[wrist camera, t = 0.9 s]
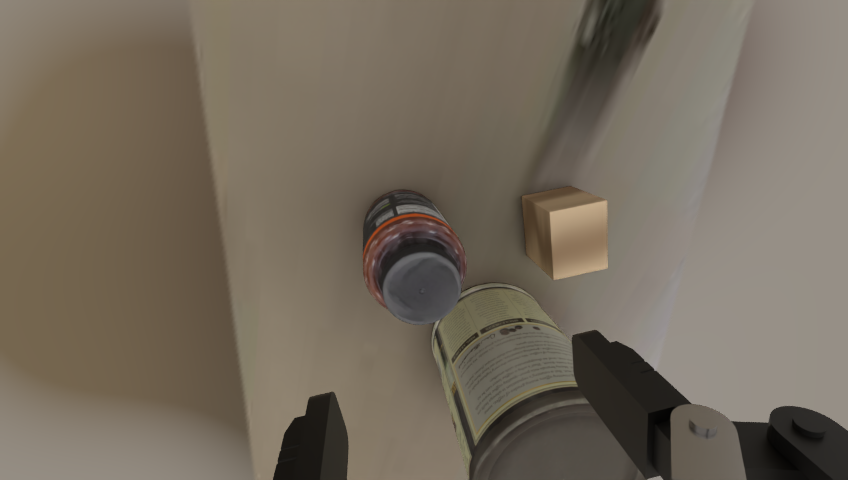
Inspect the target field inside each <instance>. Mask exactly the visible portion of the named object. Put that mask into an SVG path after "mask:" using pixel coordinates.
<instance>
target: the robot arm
mask: <svg viewBox="0 0 848 480" xmlns="http://www.w3.org/2000/svg"><path fill="white" fill-rule="evenodd" d="M572 353H573V372H574V377H575V381H576V383H577V386H578V388H579V389H580V391H581V393H582V394H583V395H584V397H585V398H586V399H587V401H588V402H589V403H590V405H591V406H592V407H593V409H594V410H595V411H596V413H597V414H598V416H599V417H600V418H601V420H602V421H603V422H604V424H605V425H606V426H607V428H608V429H609V430H610V432H611V433H612V434H613V436H614V437H615V438H616V440H617V441H618V442H619V444H620V445H621V447H622V448H623V449H624V451H625V452H626V453H627V455H628V456H629V457H630V459H631V460H632V461H633V463H634V464H635V465H636V467H637V468H638V469H639V471H640V472H641V473H642V475H643V476H644V478H645V479H649V478H652V477H656V476H661V477H662V478H663V480H848V431H847V430H846V429H844V428H843V427H842V426H840V425H839V424H838V423H836V422H835V421H833V420H832V419H830V418H828V417H826V416H825V415H822V414H820V413H818V412H815V411H812V410H809V409H806V408H801V407H795V406H783V407H779V408H776V409H774V410H773V411H772V412H771V414H770V418H769V423H760V422H758V423H757V422H734V421H730V420H729V419H728V418H727V417H726V416H724V415H723V414H721V413H720V412H718V411H716V410H714V409H711V408H709V407H706V406H702V405H696V404H691V403H690V402H689V401H688V400H687V399H686V398H685V397H684V396H683V395H682V394H680V393H679V392H678V391H677V390H676V389H675V388H674V387H673V386H672V385H671V384H670V383H669V382H668V381H666V380H665V379H664V378H663V377H662V376H661V375H660V374H659V373H658V372H657V371H654V368H652V367H651V366H650V365H649V364H648V363H647V362H645V361H644V359H643V358H642V357H641V356H639V355H638V354H637V353H636V352H635V351H634V350H633V349H631V348H629V347H627V346H625V345H623V344H621V343H619V342H617V341H615V342H611V343H610V342H609V341H608V340H607V339H606V338H605V337H604V336H603V335H602V334H601V333H600V332H598V331H597V330H592V331H588V332H584V333H579V334H575V335H573V337H572ZM347 465H348V435H347V430H346V426H345V423H344V420H343V417H342V414H341V411H340V408H339V405H338V401H337V398H336V395H335V393H334V392H329V393H325V394H321V395H316V396H312V397H310V398H309V400H308V404H307V409H306V414H305V416H301V417H297V418H294V420H293V421H292V423H291V424H290V426H289V427H288V429H287V430H286V432H285V434H284V438H283V442H282V446H281V451H280V453H279V457H278V464H277V465H276V469H275V473H274V477H273V480H347Z"/></svg>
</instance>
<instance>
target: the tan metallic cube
mask: <svg viewBox="0 0 848 480" xmlns="http://www.w3.org/2000/svg"><path fill="white" fill-rule="evenodd" d="M522 208H523V220H524V232H525V243H526V255H527V256H528V257H529V258H531V259H532V260H533V261H534V262H535V263H536V264H537V265H538V266H539V267H540V268H541V269H542V270H543V271H544V272H546V273H547V274H548V275H549V276H550V277H551V278H552V279H553V280H557V279H561V278H566V277H570V276H575V275H579V274H584V273H588V272H593V271H597V270H602V269H607V268H608V245H607V200H605V199H602V198H600V197H597V196H595V195H592V194H590V193H587V192H584V191H582V190H579V189H577V188H574V187H572V186H568V187H563V188H558V189H553V190H548V191H544V192H539V193H534V194H529V195H524V196H522Z"/></svg>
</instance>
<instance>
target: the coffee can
mask: <svg viewBox="0 0 848 480" xmlns="http://www.w3.org/2000/svg"><path fill="white" fill-rule="evenodd" d="M431 344H432V351H433V355H434V357H435V360H436V362H437V365H438V369H439V373H440V377H441V380H442V384H443V388H444V391H445V395H446V398H447V402H448V405H449V409H450V413H451V417H452V421H453V425H454V428H455V432H456V436H457V440H458V442H459V446H460V450H461V453H462V457H463V461H464V464H465V468H466V472H467V475H468V479H469V480H647V479H645V478H644V476H643V475H642V473H641V472H640V471H639V469H638V468H637V467H636V465H635V464H634V463H633V461H632V460H631V459H630V457H629V456H628V455H627V453H626V452H625V451H624V449H623V448H622V447H621V445H620V444H619V442H618V441H617V440H616V438H615V437H614V436H613V434H612V433H611V432H610V430H609V429H608V428H607V426H606V425H605V424H604V422H603V421H602V420H601V418H600V417H599V416H598V414H597V413H596V411H595V410H594V409H593V407H592V406H591V405H590V403H589V402H588V401H587V399H586V398H585V397H584V395H583V394H582V393H581V391H580V389H579V388H578V386H577V383H576V381H575V377H574V372H573V353H572V343H571V341H570V340H569V339H568V338H567V337H566V336H565V335H564V334H563V332H562V331H561V330H560V329H559V328H558V327H557V326H556V324H555V323H554V322H553V321H552V320H551V319H550V317H549V316H548V315H547V314H546V313H545V312H544V311H543V310H542V308H541V307H540V306H539V304H538V303H537V302H536V300H535V299H534V298H533V297H532V296H531V295H530V294H529V293H527V292H526V291H524V290H522V289H520V288H518V287H516V286H513V285H509V284H503V283H488V284H484V285H478V286H475V287H472V288H470V289H468V290H466V291H464V292H462V293H461V295H460V298H459V300H458V302H457V304H456V306H455V307H454V309H453V310H452V311H451V312H450V313H449V314H448V315H447V316H445V317H444V318H442V319H440V320H438V321H436V322H435V324H434V327H433V331H432V339H431Z"/></svg>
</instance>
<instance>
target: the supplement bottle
mask: <svg viewBox="0 0 848 480" xmlns="http://www.w3.org/2000/svg"><path fill="white" fill-rule="evenodd" d="M466 269H467V261H466V255H465V251H464V248H463V246H462V244H461V242H460V240H459V238H458V237H457V235H456V234H455V232H454V231H453V230H452V228H451V227H450V226H449V224H448V223H447V221H446V220H445V219H444V217H443V216H442V215H441V213H440V212H439V211H438V209H437V208H436V207H435V205H434V204H433V203H432V202H431V201H430V200H429V199H428V198H426V197H425V196H423V195H421V194H419V193H417V192H413V191H408V190H398V191H393V192H390V193H388V194H385V195H383V196H382V197H380V198H379V199H378V200H376V201H375V203H374V204H373V205H372V206H371V207H370V209H369V210H368V212H367V214H366V217H365V221H364V227H363V274H364V279H365V283H366V285H367V288H368V290H369V292H370V293H371V295H372V296H373V297H374V298H375V300H376V301H377V302H378V303H379V304H381V305H382V306H383V307H385V308H386V309H388V310H389V311H390V312H391V313H392V314H393V315H394V316H395V317H397V318H398V319H400V320H402V321H404V322H406V323H409V324H415V325H424V324H431V323H434V322H436V321H438V320H440V319H442V318H444V317H445V316H447V315H448V314H449V313H450V312H451V311H452V310H453V309H454V307H455V306H456V304H457V302H458V300H459V298H460V295H461V286H462V284H463V282H464V279H465V276H466Z"/></svg>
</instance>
